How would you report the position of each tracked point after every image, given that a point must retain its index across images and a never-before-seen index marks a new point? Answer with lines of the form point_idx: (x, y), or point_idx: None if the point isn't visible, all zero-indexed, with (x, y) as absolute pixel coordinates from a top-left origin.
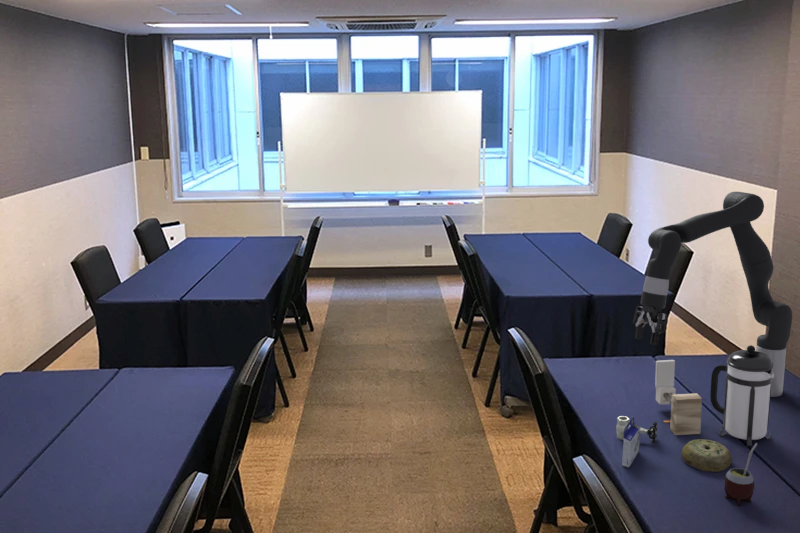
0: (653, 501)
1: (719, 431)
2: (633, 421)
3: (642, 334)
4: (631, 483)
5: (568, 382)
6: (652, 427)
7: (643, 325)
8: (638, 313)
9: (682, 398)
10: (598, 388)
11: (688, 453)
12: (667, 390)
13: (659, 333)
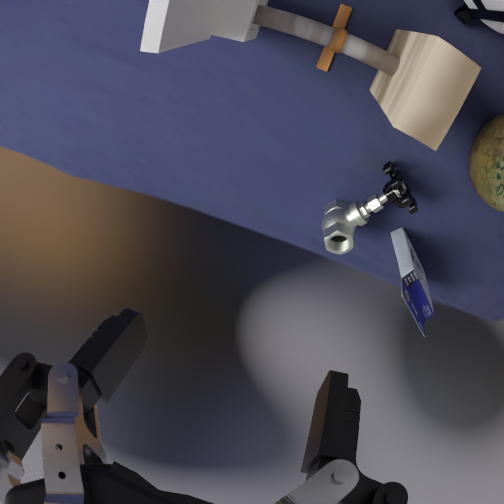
0: (487, 298)
1: (460, 17)
2: (404, 288)
3: (122, 336)
4: (449, 294)
5: (54, 152)
6: (390, 186)
7: (81, 395)
8: (17, 451)
9: (441, 124)
10: (81, 108)
11: (500, 210)
12: (252, 17)
13: (356, 470)
